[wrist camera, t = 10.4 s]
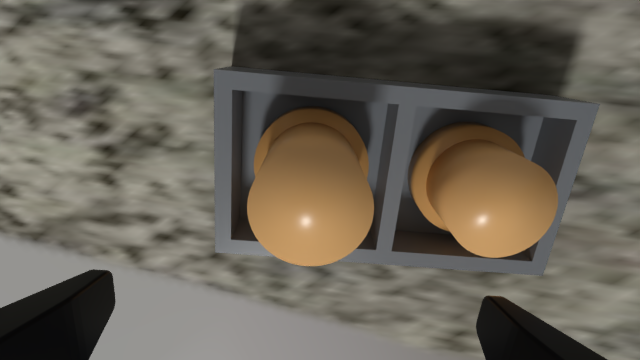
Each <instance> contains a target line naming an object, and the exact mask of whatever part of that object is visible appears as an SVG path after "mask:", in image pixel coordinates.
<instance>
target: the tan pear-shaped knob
mask: <svg viewBox="0 0 640 360" xmlns="http://www.w3.org/2000/svg"><path fill="white" fill-rule="evenodd" d="M368 170H369V161H368V154H367V150H366V147H365V144H364V142H363V140H362V139H361V137H360V135H359V133H358V132H357V130H356V129H355V127H354V126H353V125H352V124H351V123H350V122H349V121H348V120H347V119H346V118H345V117H343V116H342V115H340V114H339V113H337V112H335V111H333V110H330V109H327V108H324V107H317V106H305V107H299V108H295V109H292V110H290V111H287V112H286V113H284V114H282V115H281V116H279V117H278V118H277V119H275V120H274V121H273V122H272V123H271V124H270V126H269V127H268V128H267V130H266V131H265V133H264V134H263V136H262V137H261V139H260V141H259V143H258V146H257V148H256V152H255V156H254V173H255V180H254V182H253V184H252V186H251V189H250V191H249V196H248V202H247V214H248V219H249V223H250V226H251V229H252V231H253V233H254V235H255V237H256V238H257V239H258V241H259V242H260V243H261V245H262V246H263V247H264V248H265V249H266V250H268V251H269V252H270V253H271V254H273V255H274V256H276V257H277V258H279V259H281V260H283V261H286V262H289V263H292V264H296V265H302V266H320V265H325V264H330V263H333V262H335V261H338V260H340V259H342V258H344V257H345V256H347V255H348V254H350V253H351V252H353V251H354V250H355V249H356V248H357V247H358V246H359V245H360V244H361V243H362V241H363V240H364V238H365V237H366V235H367V233H368V231H369V229H370V227H371V224H372V220H373V215H374V199H373V195H372V191H371V188H370V186H369V183H368V181H367V176H368Z"/></svg>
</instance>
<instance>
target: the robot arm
mask: <svg viewBox="0 0 640 360" xmlns="http://www.w3.org/2000/svg"><path fill="white" fill-rule="evenodd" d="M114 306H115V292H114V284H113V276H112V273H111V272H110V271H107V270H89V271H87V272H85V273H82V274H80V275H78V276H75V277H73V278H71V279H68V280H66V281H63V282H61V283H59V284H56V285H54V286H52V287H49V288H47V289H45V290H42V291H40V292H38V293H35V294H33V295H30V296H28V297H26V298H23V299H21V300H19V301H16V302H14V303H11V304H9V305H7V306H5V307H2V308H0V360H89V358H90V356H91V354H92V352H93V350H94V348H95V346H96V344H97V342H98V340H99V338H100V336H101V334H102V332H103V330H104V327H105V326H106V324H107V322H108V320H109V318H110V316H111V314H112V312H113V310H114ZM476 330H477V335H478V338H479V341H480V344H481V347H482V350H483V353H484V356H485V359H486V360H607V359H605V358H604V357H602V356H600V355H599V354H597V353H595V352H594V351H592V350H591V349H589V348H587V347H586V346H584V345H582V344H581V343H579V342H577V341H576V340H574V339H572V338H571V337H569V336H567V335H566V334H564V333H562V332H561V331H559V330H557V329H556V328H554V327H552V326H551V325H549V324H547V323H546V322H544V321H542V320H541V319H539V318H537V317H536V316H534V315H532V314H531V313H529V312H527V311H526V310H524V309H522V308H521V307H519V306H517V305H516V304H514V303H512V302H511V301H509V300H507V299H506V298H504V297H501V296H486V297H484V299H483V301H482V304H481V308H480V311H479V315H478V319H477V323H476Z"/></svg>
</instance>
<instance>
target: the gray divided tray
mask: <svg viewBox="0 0 640 360" xmlns="http://www.w3.org/2000/svg"><path fill="white" fill-rule="evenodd" d="M599 105H600V104H597V103H591V102H586V101H580V100H575V99H569V98H564V97H559V96H553V95H542V94H531V93H520V92H509V91H498V90H487V89H476V88H465V87H454V86H443V85H432V84H421V83H410V82H399V81H387V80H376V79H365V78H354V77H343V76H332V75H321V74H310V73H299V72H288V71H277V70H266V69H255V68H244V67H233V66H231V67H225V68H219V69H214V156H215V252H218V253H232V254H246V255H260V256H274V255H273V254H271V253H270V252H269V251H268V250H266V249H265V248H264V247H263V246H262V245H261V243H260V242H259V241H258V239H257V238H256V237H255V235H254V233H253V231H252V229H251V226H250V223H249V219H248V214H247V202H248V196H249V191H250V189H251V186H252V184H253V182H254V180H255V173H254V156H255V152H256V148H257V146H258V143H259V141H260V139H261V137H262V136H263V134H264V133H265V131H266V130H267V128H268V127H269V126H270V124H271V123H272V122H273V121H274V120H275V119H277V118H278V117H279V116H281V115H282V114H284V113H286V112H287V111H290V110H292V109H295V108H299V107H305V106H317V107H324V108H327V109H330V110H333V111H335V112H337V113H339V114H340V115H342V116H343V117H345V118H346V119H347V120H348V121H349V122H350V123H351V124H352V125H353V126H354V127H355V129H356V130H357V132H358V133H359V135H360V137H361V139H362V140H363V142H364V144H365V147H366V150H367V154H368V161H369V170H368V176H367V181H368V183H369V186H370V188H371V191H372V195H373V199H374V215H373V220H372V224H371V227H370V229H369V231H368V233H367V235H366V237H365V238H364V240H363V241H362V243H361V244H360V245H359V246H358V247H357V248H356V249H355V250H354V251H353V252H351V253H350V254H348V255H347V256H345V257H344V258H342V259H340V260H338V261H345V262H359V263H373V264H387V265H401V266H415V267H429V268H443V269H457V270H471V271H485V272H499V273H513V274H527V275H541V276H543V273H544V270H545V267H546V264H547V261H548V258H549V255H550V252H551V249H552V246H553V243H554V240H555V237H556V234H557V231H558V228H559V225H560V222H561V219H562V216H563V213H564V210H565V207H566V204H567V201H568V198H569V195H570V192H571V189H572V186H573V183H574V180H575V177H576V174H577V171H578V168H579V165H580V162H581V159H582V156H583V153H584V150H585V147H586V144H587V141H588V138H589V135H590V132H591V129H592V126H593V123H594V120H595V117H596V114H597V111H598V108H599ZM274 257H276V256H274Z"/></svg>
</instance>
